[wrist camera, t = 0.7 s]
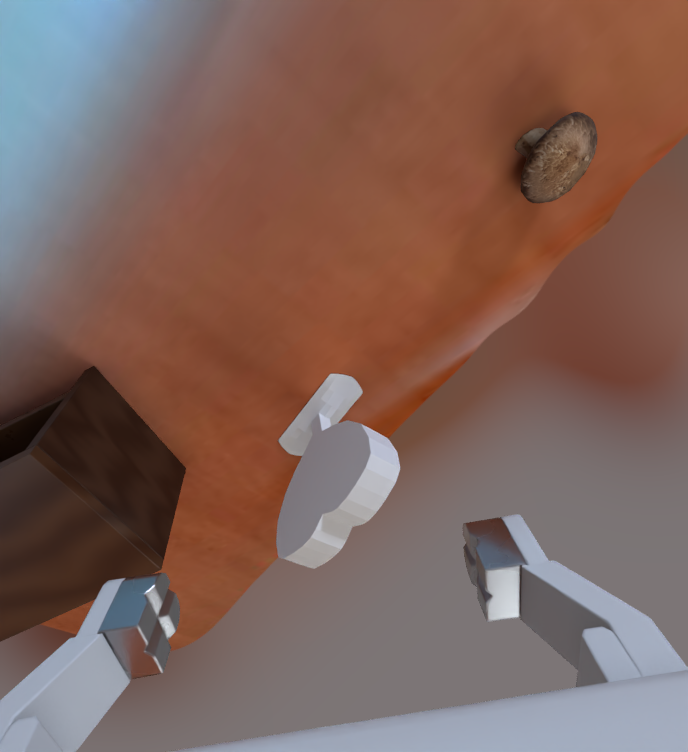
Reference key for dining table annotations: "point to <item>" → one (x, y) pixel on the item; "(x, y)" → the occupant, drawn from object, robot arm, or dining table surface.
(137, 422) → the shelf stand
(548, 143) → the mushroom
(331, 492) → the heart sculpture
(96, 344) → the dining table surface
